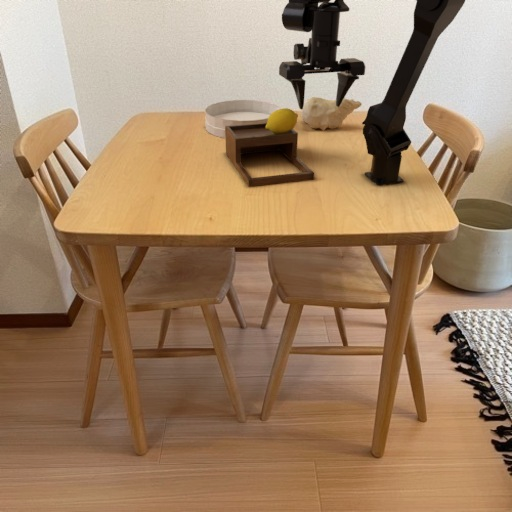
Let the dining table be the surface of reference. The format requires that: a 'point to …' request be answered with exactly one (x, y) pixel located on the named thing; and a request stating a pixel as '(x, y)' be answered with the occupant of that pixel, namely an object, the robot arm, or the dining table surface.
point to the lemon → (281, 121)
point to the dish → (236, 114)
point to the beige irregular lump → (327, 112)
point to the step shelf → (263, 140)
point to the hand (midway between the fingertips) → (319, 107)
